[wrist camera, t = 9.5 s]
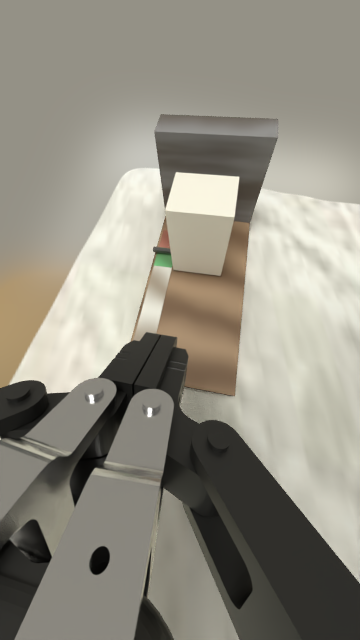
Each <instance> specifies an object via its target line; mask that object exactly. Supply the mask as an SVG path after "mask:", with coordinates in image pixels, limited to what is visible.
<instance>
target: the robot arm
mask: <svg viewBox="0 0 360 640" xmlns="http://www.w3.org/2000/svg"><path fill="white" fill-rule="evenodd" d="M188 357H189V356H188V354H187V351H186V349H182V348H177V337H173V336H167V335H161V334H155V333H150V332H146V333H145V334H144V336H143V337H142V338H141V340H140V341H136V340H133V341H131V342H130V343H128V344H126V345H125V346H124V347H123V348H122V349H121V351H120V353H118V354H117V355H116V357H115V358H114V359H113V360H112V362H111V363H110V364H109V365H108V366H107V368H106V369H105V370H104V371H103V373H102V374H101V375H100V376H99V377H98V378H94V379H89V380H86V381H84V382H82V383H80V384H79V385H78V386H76V387H75V388H74V389H73V390H72V391H71V392H68V393H50V394H47V392H46V387H45V385H44V384H43V383H41V382H39V381H34V380H28V381H22V382H18V383H15V384H12V385H8V386H6V387H2V388H0V438H1V440H0V640H174V639H173V636H172V634H171V632H170V630H169V628H168V626H167V625H166V623H165V621H164V620H163V618H162V616H161V615H160V613H159V612H158V610H157V609H156V608H155V607H154V605H153V604H152V603H151V602H150V600H149V599H148V595H149V588H150V581H151V574H152V568H153V561H154V553H155V546H156V538H157V531H158V524H159V518H160V511H161V504H162V498H163V491H164V488H165V489H166V490H168V491H169V492H170V493H171V494H173V495H174V496H175V497H177V498H178V499H179V500H181V501H182V502H183V506H184V509H185V512H186V514H187V517H188V519H189V521H190V524H191V526H192V528H193V531H194V533H195V535H196V538H197V540H198V543H199V545H200V547H201V550H202V552H203V554H204V557H205V559H206V561H207V564H208V566H209V568H210V571H211V573H212V576H213V578H214V580H215V583H216V585H217V587H218V590H219V592H220V594H221V597H222V599H223V601H224V604H225V606H226V609H227V611H228V613H229V616H230V618H231V620H232V623H233V625H234V627H235V630H236V632H237V634H238V637H239V639H240V640H360V583H359V582H358V581H357V580H356V578H355V577H354V576H353V575H352V573H351V572H350V571H349V570H348V569H347V567H346V566H345V565H344V564H343V562H342V561H341V560H340V559H339V557H338V556H337V555H336V554H335V553H334V551H333V550H332V549H331V548H330V546H329V545H328V544H327V543H326V541H325V540H324V539H323V538H322V537H321V535H320V534H319V533H318V532H317V530H316V529H315V528H314V527H313V525H312V524H311V523H310V522H309V521H308V519H307V518H306V517H305V516H304V514H303V513H302V512H301V511H300V509H299V508H298V507H297V506H296V505H295V503H294V502H293V501H292V500H291V498H290V497H289V496H288V495H287V493H286V492H285V491H284V490H283V489H282V487H281V486H280V485H279V484H278V482H277V481H276V480H275V479H274V477H273V476H272V475H271V474H270V472H269V471H268V470H267V469H266V468H265V466H264V465H263V464H262V463H261V461H260V460H259V459H258V458H257V456H256V455H255V454H254V453H253V452H252V450H251V449H250V448H249V447H248V445H247V444H246V443H245V442H244V440H243V439H242V438H241V437H240V436H239V434H238V433H237V432H236V431H235V430H234V429H233V428H232V427H231V426H229V425H227V424H226V423H223V422H221V421H216V420H208V421H204V422H202V423H200V424H199V423H197V422H195V421H193V420H191V419H190V418H188V417H187V416H186V415H185V414H184V413H183V412H182V410H181V409H180V403H181V398H182V394H183V389H184V385H185V380H186V372H187V365H188Z"/></svg>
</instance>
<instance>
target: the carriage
mask: <svg viewBox="0 0 360 640" xmlns="http://www.w3.org/2000/svg"><path fill="white" fill-rule="evenodd" d="M238 185H239V177H235V176H222V175H208V174H194V173H180V172H176V174H175V177H174V181H173V184H172V188H171V191H170V195H169V198H168V202H167V205H166V209H165V214H166V221H167V229H168V236H169V243H170V248H161V247H154V248H153V252H159V253H168V254H171V257H172V264H173V270H178V271H186V272H194V273H202V274H209V275H217V276H221V272H222V268H223V264H224V260H225V255H226V251H227V247H228V243H229V239H230V234H231V230H232V226H233V222H234V217H235V209H236V201H237V193H238Z"/></svg>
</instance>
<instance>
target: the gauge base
mask: <svg viewBox="0 0 360 640" xmlns="http://www.w3.org/2000/svg"><path fill="white" fill-rule="evenodd" d="M277 138H278V119H265V118H240V117H214V116H213V117H212V116H189V115H164V114H161V115H160V118H159V121H158V123H157V126H156V129H155V139H156V146H157V153H158V161H159V168H160V176H161V183H162V190H163V197H164V204H165V209H166V205H167V202H168V198H169V195H170V191H171V188H172V184H173V181H174V177H175V174H176V172H180V173H194V174H208V175H222V176H235V177H239V185H238V193H237V201H236V209H235V217H234V222H233V226H232V230H231V234H230V239H229V243H228V247H227V251H226V255H225V260H224V264H223V268H222V272H221V276H217V275H209V274H202V273H194V272H186V271H178V270H173V264H172V257H171V254H168V253H159V252H155V256H154V259H153V263H152V267H151V270H150V274H149V277H148V281H147V284H146V288H145V292H144V295H143V299H142V302H141V306H140V310H139V313H138V317H137V320H136V324H135V328H134V331H133V335H132V338H131V341H133V340H136V341H140V340H141V338H142V337H143V336H144V334H145V333H146V332H150V333H155V334H161V335H167V336H173V337H177V348H182V349H186V351H187V354H188V356H189V357H188V365H187V372H186V380H185V385H184V387H189V388H194V389H200V390H205V391H210V392H215V393H220V394H226V395H231V396H235V386H236V375H237V363H238V352H239V340H240V329H241V317H242V306H243V294H244V283H245V271H246V260H247V248H248V237H249V225H250V220H251V217H252V214H253V211H254V208H255V205H256V202H257V199H258V196H259V193H260V190H261V187H262V184H263V181H264V178H265V174H266V172H267V169H268V166H269V163H270V160H271V157H272V154H273V150H274V147H275V145H276V141H277ZM157 247H161V248H170V243H169V236H168V229H167V221H166V216H165V220H164V223H163V227H162V231H161V234H160V238H159V241H158V245H157Z"/></svg>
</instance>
